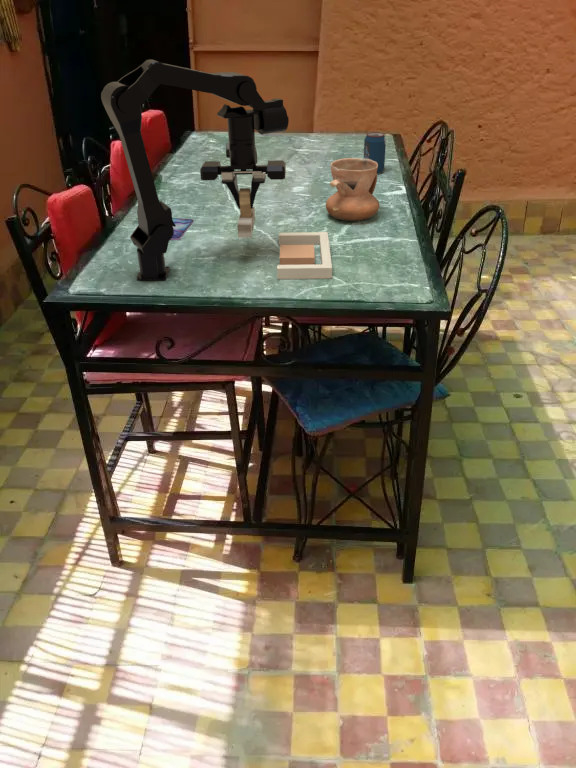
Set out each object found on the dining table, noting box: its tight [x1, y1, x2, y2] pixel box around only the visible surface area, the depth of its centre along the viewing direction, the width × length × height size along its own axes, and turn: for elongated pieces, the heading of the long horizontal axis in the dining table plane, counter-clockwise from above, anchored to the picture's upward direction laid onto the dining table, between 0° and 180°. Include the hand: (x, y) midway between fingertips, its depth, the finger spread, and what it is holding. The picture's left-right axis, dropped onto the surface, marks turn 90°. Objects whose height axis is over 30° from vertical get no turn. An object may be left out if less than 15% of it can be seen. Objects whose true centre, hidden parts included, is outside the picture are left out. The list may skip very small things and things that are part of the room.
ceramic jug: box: [325, 157, 380, 222], centre depth 170 cm, size 18×14×14 cm
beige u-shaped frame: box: [276, 231, 333, 280], centre depth 149 cm, size 12×22×2 cm, turn 0°
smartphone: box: [170, 217, 195, 241], centre depth 167 cm, size 7×1×15 cm
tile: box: [279, 245, 316, 265], centre depth 149 cm, size 8×8×2 cm
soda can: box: [363, 131, 387, 175], centre depth 206 cm, size 7×7×12 cm
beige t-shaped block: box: [237, 187, 256, 239], centre depth 147 cm, size 12×3×9 cm, turn 178°
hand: (245, 208), depth 146 cm, fingers closed on beige t-shaped block, 2 cm apart
